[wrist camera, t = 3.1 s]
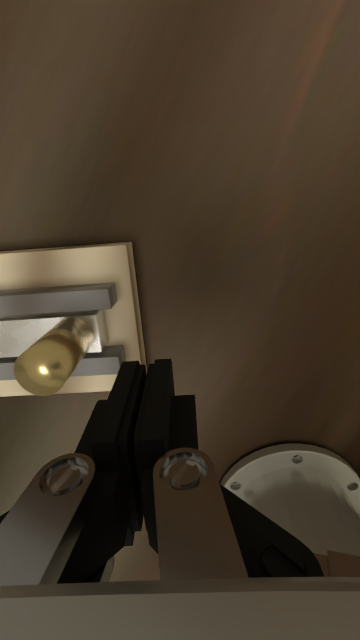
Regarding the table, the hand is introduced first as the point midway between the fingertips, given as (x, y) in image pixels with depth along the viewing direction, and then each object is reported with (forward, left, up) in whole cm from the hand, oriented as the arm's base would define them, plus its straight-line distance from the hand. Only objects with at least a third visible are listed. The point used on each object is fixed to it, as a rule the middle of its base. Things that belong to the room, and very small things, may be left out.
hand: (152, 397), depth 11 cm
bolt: (+7, +5, -10) cm, 13 cm away
